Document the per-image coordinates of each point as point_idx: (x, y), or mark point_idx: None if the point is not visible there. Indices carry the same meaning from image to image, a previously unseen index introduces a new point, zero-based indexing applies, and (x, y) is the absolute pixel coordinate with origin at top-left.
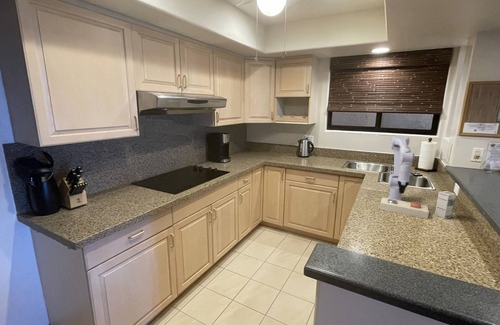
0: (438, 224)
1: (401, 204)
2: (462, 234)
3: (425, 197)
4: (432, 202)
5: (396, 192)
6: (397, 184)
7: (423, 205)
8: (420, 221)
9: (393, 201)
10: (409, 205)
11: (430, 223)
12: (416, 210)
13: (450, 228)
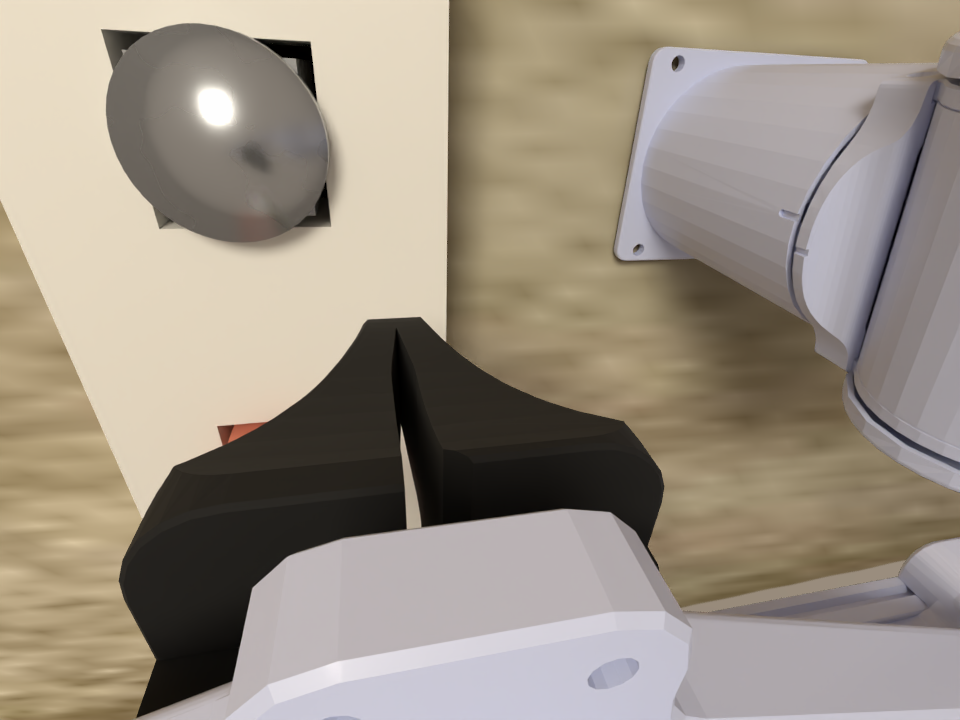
0: (118, 587)
1: (216, 306)
2: (41, 697)
3: (877, 449)
4: (746, 500)
5: (733, 213)
6: (919, 268)
7: (415, 524)
8: (25, 478)
9: (187, 166)
10: (271, 407)
11: (69, 545)
12: (134, 486)
13: (105, 645)
